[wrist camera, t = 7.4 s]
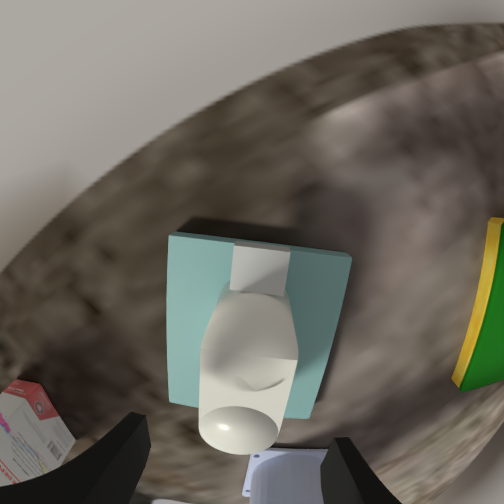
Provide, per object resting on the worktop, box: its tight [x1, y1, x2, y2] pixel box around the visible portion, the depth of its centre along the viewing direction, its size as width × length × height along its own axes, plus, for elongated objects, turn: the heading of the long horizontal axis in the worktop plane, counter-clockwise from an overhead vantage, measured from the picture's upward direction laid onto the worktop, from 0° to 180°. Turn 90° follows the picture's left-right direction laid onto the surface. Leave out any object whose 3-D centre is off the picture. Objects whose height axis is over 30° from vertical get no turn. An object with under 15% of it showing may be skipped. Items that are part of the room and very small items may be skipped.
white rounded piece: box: [199, 241, 298, 454], centre depth 14 cm, size 11×4×5 cm, turn 174°
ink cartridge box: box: [0, 379, 76, 486], centre depth 15 cm, size 9×5×15 cm, turn 9°
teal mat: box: [167, 232, 352, 419], centre depth 18 cm, size 12×10×1 cm
